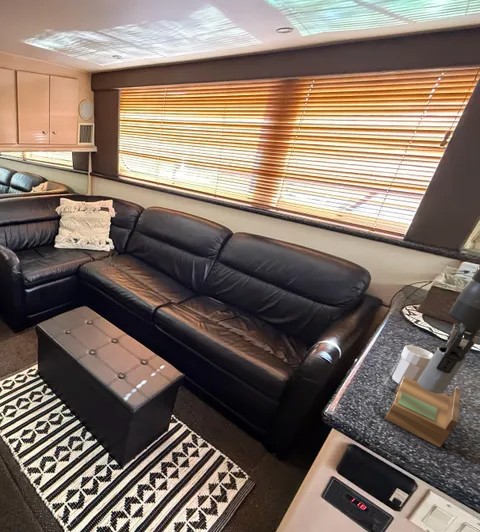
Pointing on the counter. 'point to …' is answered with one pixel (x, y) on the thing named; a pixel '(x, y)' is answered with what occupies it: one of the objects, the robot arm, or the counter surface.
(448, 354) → the robot arm
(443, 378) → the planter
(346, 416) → the counter surface
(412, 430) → the green-lined wooden tray
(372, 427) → the counter surface
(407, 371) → the cup
